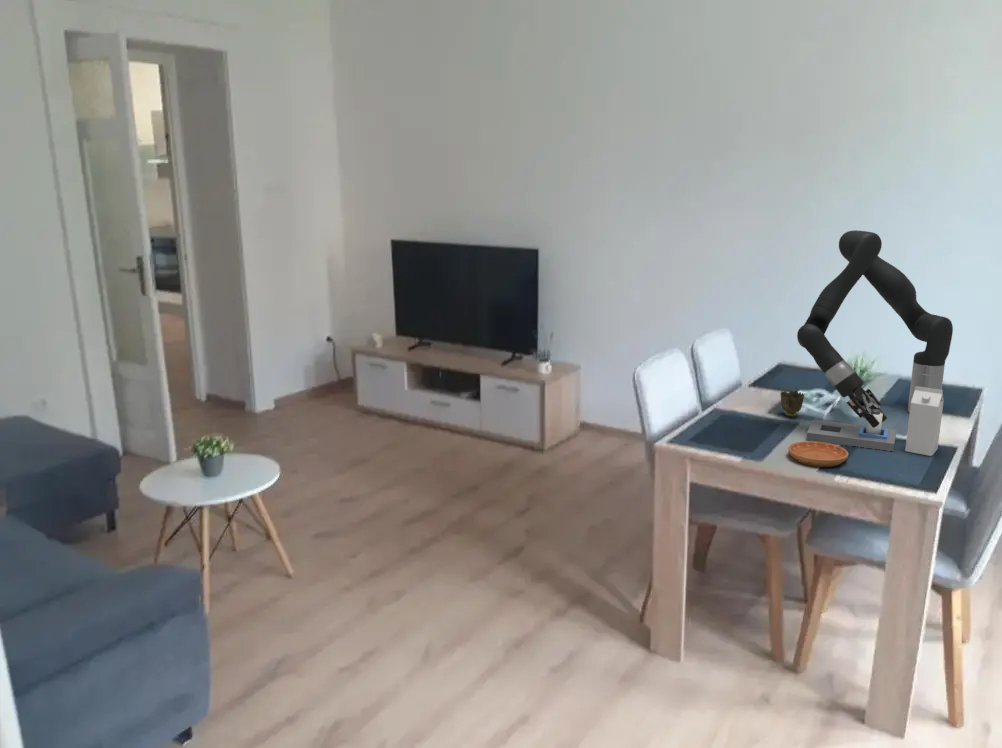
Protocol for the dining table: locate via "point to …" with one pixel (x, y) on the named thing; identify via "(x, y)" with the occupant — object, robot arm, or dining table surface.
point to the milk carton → (924, 421)
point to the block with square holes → (850, 435)
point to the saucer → (818, 453)
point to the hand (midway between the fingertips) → (880, 423)
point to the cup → (791, 402)
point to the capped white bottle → (876, 429)
